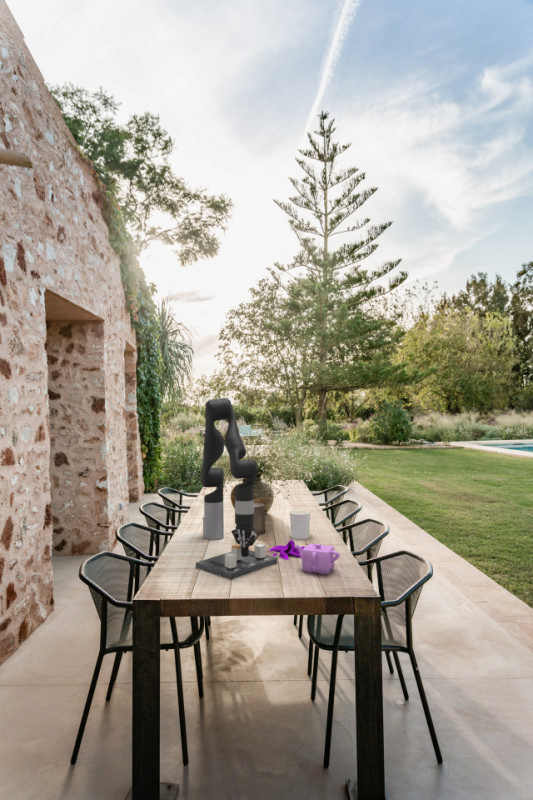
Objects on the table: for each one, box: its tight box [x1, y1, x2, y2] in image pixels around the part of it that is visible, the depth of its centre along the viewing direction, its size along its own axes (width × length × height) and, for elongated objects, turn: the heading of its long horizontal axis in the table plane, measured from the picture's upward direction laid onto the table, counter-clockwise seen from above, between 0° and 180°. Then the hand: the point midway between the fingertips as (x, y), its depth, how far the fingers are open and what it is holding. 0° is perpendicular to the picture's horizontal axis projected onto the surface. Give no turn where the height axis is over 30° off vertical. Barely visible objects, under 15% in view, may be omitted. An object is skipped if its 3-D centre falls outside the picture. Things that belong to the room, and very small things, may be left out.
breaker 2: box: [254, 543, 267, 558], centre depth 192 cm, size 3×3×4 cm
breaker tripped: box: [231, 543, 242, 560], centre depth 189 cm, size 3×3×5 cm
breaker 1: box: [224, 552, 236, 569], centre depth 180 cm, size 3×3×4 cm
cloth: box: [269, 539, 306, 561], centre depth 204 cm, size 22×19×6 cm
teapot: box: [294, 543, 340, 576], centre depth 183 cm, size 18×14×10 cm
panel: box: [195, 549, 278, 580], centre depth 189 cm, size 20×25×2 cm
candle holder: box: [289, 509, 311, 540], centre depth 229 cm, size 10×10×12 cm
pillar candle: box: [253, 501, 266, 535], centre depth 240 cm, size 10×10×15 cm
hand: (245, 556), depth 187 cm, fingers closed
